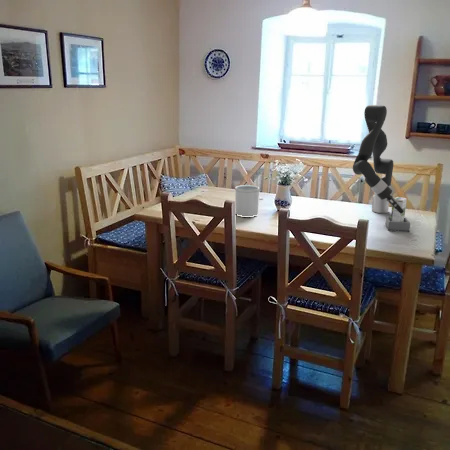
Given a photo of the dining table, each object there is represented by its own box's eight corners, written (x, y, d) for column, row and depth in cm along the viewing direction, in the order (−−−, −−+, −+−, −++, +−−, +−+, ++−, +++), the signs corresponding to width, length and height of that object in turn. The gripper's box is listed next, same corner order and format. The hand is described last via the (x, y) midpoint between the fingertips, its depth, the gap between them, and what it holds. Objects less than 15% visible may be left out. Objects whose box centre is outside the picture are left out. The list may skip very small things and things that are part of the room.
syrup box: (393, 221, 265) (396, 196, 261) (404, 223, 261) (407, 198, 257) (389, 223, 261) (392, 198, 257) (400, 225, 257) (403, 200, 253)
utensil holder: (252, 211, 300) (252, 184, 295) (263, 216, 286) (263, 188, 282) (231, 213, 294) (231, 186, 289) (241, 219, 281) (241, 190, 276)
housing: (387, 230, 257) (388, 222, 256) (385, 225, 268) (386, 216, 266) (409, 231, 256) (410, 222, 254) (405, 226, 266) (406, 217, 264)
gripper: (388, 187, 249) (409, 209, 251) (385, 182, 263) (404, 203, 264) (377, 196, 252) (397, 218, 253) (374, 191, 265) (393, 211, 267)
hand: (401, 210), depth 259 cm, fingers closed on syrup box, 7 cm apart
